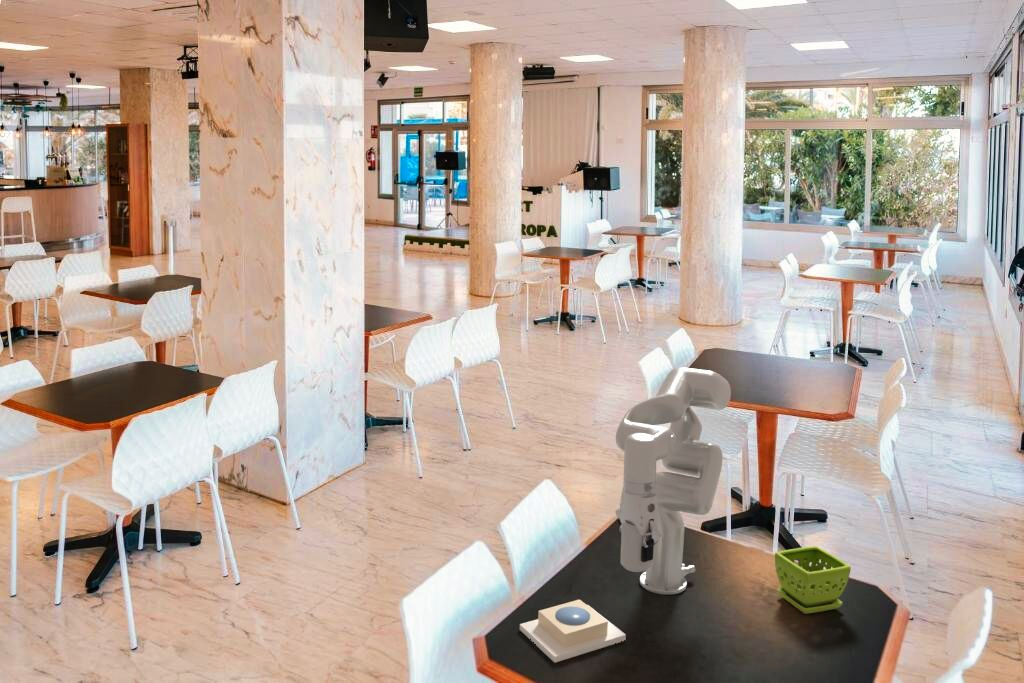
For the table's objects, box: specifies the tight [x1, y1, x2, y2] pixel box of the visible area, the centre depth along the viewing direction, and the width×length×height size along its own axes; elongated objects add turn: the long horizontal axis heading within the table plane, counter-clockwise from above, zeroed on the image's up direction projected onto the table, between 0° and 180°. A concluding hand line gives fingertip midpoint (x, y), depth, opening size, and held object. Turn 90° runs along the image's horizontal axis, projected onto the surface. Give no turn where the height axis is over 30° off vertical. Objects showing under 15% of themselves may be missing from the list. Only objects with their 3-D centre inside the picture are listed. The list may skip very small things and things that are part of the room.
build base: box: [519, 599, 627, 663], centre depth 210 cm, size 20×16×5 cm
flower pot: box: [774, 545, 852, 615], centre depth 226 cm, size 14×14×13 cm
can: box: [620, 520, 652, 573], centre depth 211 cm, size 8×8×12 cm
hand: (636, 553), depth 211 cm, fingers closed on can, 7 cm apart
